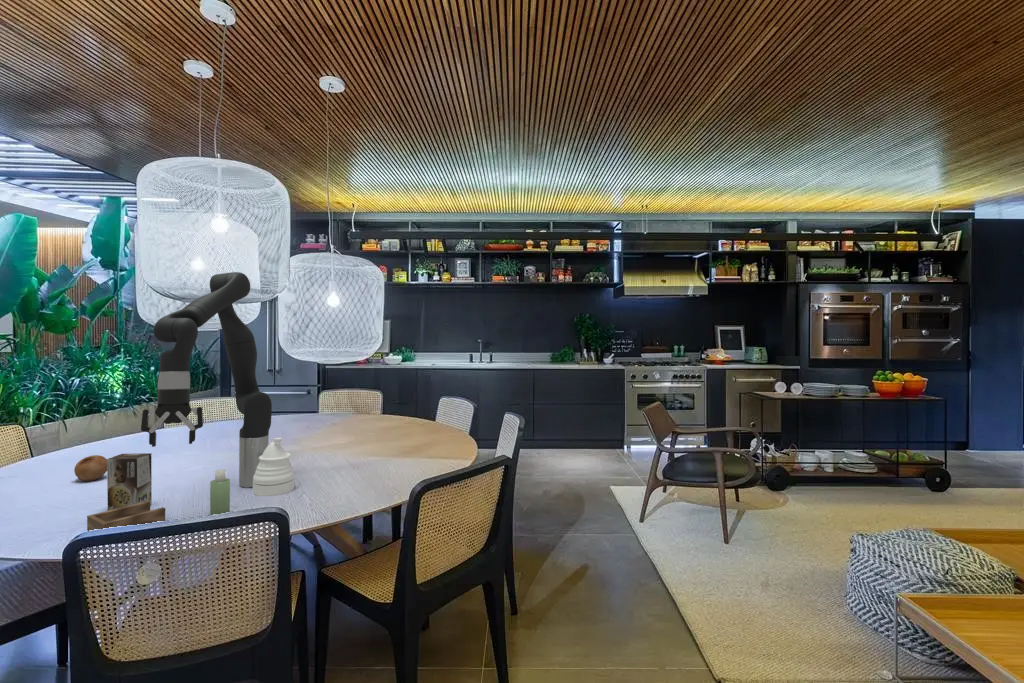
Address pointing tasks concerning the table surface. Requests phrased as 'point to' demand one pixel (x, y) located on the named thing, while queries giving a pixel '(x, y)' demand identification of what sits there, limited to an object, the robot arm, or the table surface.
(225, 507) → the bottle
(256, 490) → the honey pot
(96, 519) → the u rest
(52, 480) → the table surface
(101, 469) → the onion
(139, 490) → the coffee box
